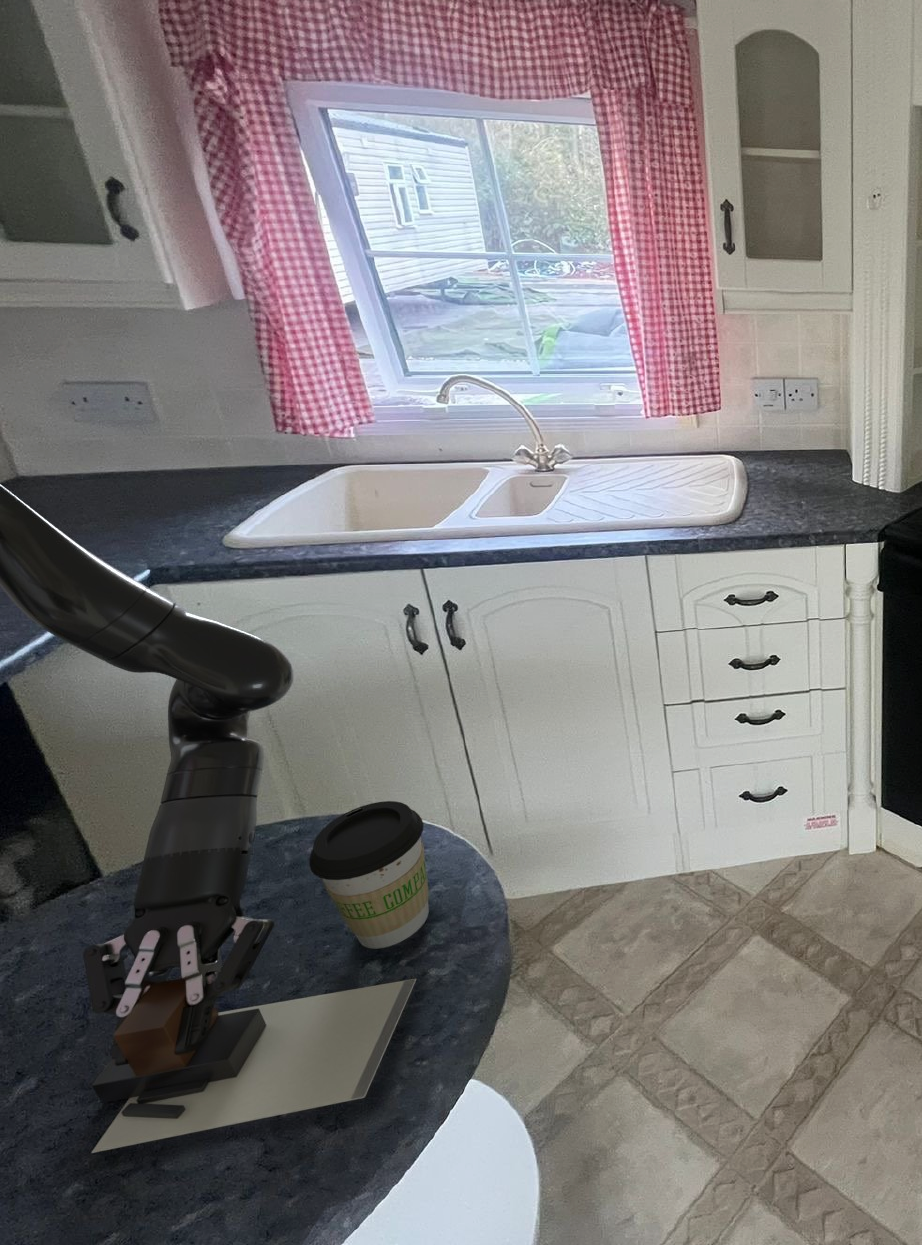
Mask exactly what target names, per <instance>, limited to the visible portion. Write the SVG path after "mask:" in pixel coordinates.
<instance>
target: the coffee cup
mask: <svg viewBox="0 0 922 1245" xmlns="http://www.w3.org/2000/svg"><path fill="white" fill-rule="evenodd" d="M423 832H424V821H423V819H422V817H421V815H420V814H418V812H416V811H415V810H413V809H412V808H411V807H410V806H408V805H407V804H405V803H404V802H400V801H394V800H384V801H377V802H372V803H368V804H365V805H361V806H359V807H356V808H353V809H351V810H348V811H346V812H345V813H343V814H341V815H339V816H338V817H337V818H335V819H333V820H332V821H331V822H329V823H328V824H327V825H326V826H324V827H323V828H322V829H321V830H320V831H319V833H318V834H317V835H316V837H315V839H314V840H313V845H312V848H311V852H310V854H309V869H310V871H311V873H312V874H313V875H314V876H316V877H318V878H319V879H322V881H323V884H324V889H325V890H326V892H327V893H328V895H329V897H330V898H331V900H332V902H333V904H334V905H335V906H336V908H337V910H338V912H339V913H340V915H341V917H342V918H343V920H344V922H345V923H346V925H347V927H348V928H349V930H350V931H351V932H352V934H354V936H356V938H357V940H358V942H359V943H360V944H361V946H363V947H365V948H367V949H375V950H376V949H384V948H389V947H391V946H394V945H397V944H399V943H401V942H403V941H404V940H406V939H408V938H410V937H412V935H414V934H415V933H416V932H418V930H419V929H420V928H422V926H423V925H424V924H425V922H426V920H427V919H428V917H429V912H430V910H429V908H430V907H429V885H428V883H429V882H428V877H427V876H428V874H427V864H426V856H425V847H424V844H423V840H422V838H421V837H422V835H423Z"/></svg>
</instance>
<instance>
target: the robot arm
mask: <svg viewBox="0 0 922 1245" xmlns="http://www.w3.org/2000/svg"><path fill="white" fill-rule="evenodd" d="M0 588H1V590H3V591H4V593H5V594H6V595H7V596H8V597H9V598H10V599H11V601H12V602H13V603H14V604H15V606H17V608H19V609H20V611H21V612H22V613H23V614H25V615H26V617H28V618H29V619H30V620H31V621H33V622H34V623H35V624H37V625H38V627H40V628H42V629H44V630H45V631H46V632H48V633H49V634H51V635H53V636H55V637H56V638H58V639H60V640H62V641H64V642H66V643H67V644H69V645H71V646H73V647H75V648H76V649H79V650H80V651H83V652H84V653H87V654H89V655H91V656H93V657H95V658H97V659H99V660H101V661H104V662H105V663H106V664H109V665H111V666H114V667H116V668H118V669H120V670H123V671H127V672H129V673H136V674H148V673H153V674H154V673H155V674H161V675H165V676H168V677H170V678H173V679H174V680H175V681H174V682H173V685H172V688H171V690H170V694H169V698H168V703H167V727H168V728H167V729H168V731H167V732H168V745H169V751H170V762H169V766H168V769H167V772H166V776H165V781H164V785H163V789H162V794H161V798H160V802H159V803H160V804H159V806H158V809H157V812H156V816H155V818H154V820H153V822H152V825H151V828H150V830H149V835H148V840H147V844H146V848H145V853H144V856H143V861H142V866H141V870H140V875H139V879H138V882H137V888H136V892H135V897H134V900H133V908H134V917H133V919H132V920H131V922H130V924H129V925H128V926H127V928H126V929H125V930H124V933H123V934H122V935H120V936H117V937H115V938H113V939H111V940H109V941H106V942H105V943H97V944H91V945H89V946H88V947H86V948H85V949H84V951H83V953H82V958H83V963H84V969H85V973H86V979H87V984H88V990H89V996H90V1001H91V1006H92V1011H93V1012H94V1013H95V1014H101V1013H102V1014H103V1013H104V1014H111V1015H114V1016H116V1018H117V1023H116V1028H115V1032H116V1031H117V1029H118V1028H119V1027H120V1025H121V1024H122V1023H123V1021H124V1020H125V1019H126V1017H127V1016H128V1015H129V1014H130V1012H131V1011H132V1010H133V1008H134V1007H135V1006H136V1004H137V1003H138V1002H139V1000H140V999H141V998H142V996H143V995H144V994H145V992H146V991H147V990H148V988H149V987H150V986H151V985H152V984H155V983H156V982H162V981H168V978H169V976H170V974H171V971H172V969H175V968H180V975H181V978H182V979H183V980H185V982H186V997H187V1003H188V1004H189V1005H188V1007H185V1008H183V1010H182V1016H181V1021H180V1026H179V1031H178V1036H177V1041H176V1046H175V1049H174V1053H175V1055H180V1054H185V1053H189V1052H192V1051H195V1050H197V1049H198V1048H199V1046H200V1044H201V1042H203V1041H205V1040H206V1038H207V1036H208V1034H209V1029H210V1024H211V1018H212V1013H213V1007H214V1006H215V1003H216V1001H217V999H219V997H222V995H224V994H227V993H229V992H231V991H232V990H233V991H234V990H236V989H239V988H241V987H242V986H243V985H244V983H245V981H246V979H247V977H248V976H249V974H250V972H251V970H252V968H253V966H254V965H255V962H256V960H257V959H258V957H259V955H260V953H261V951H262V950H263V948H264V946H265V944H266V942H267V940H268V938H269V936H270V934H271V932H272V930H273V928H274V926H275V921H274V920H273V919H271V918H267V919H266V918H262V919H257V918H253V917H248V916H244V911H243V909H242V906H241V898H242V896H243V894H244V892H245V888H246V882H247V876H248V872H249V871H248V870H249V865H250V860H251V854H252V850H253V849H252V848H253V843H254V841H255V838H256V833H255V832H256V826H257V820H258V818H257V814H258V812H257V810H258V809H257V807H258V797H259V792H260V788H261V781H262V775H263V771H264V764H265V763H264V761H265V748H264V747H263V745H262V744H261V743H260V742H259V741H257V740H254V739H252V738H250V737H249V735H250V732H249V730H250V729H249V728H250V726H249V725H250V724H249V723H250V720H249V719H250V714H251V713H252V712H256V711H259V710H263V709H265V708H268V707H270V706H272V705H274V704H275V703H277V702H279V701H281V699H283V698H284V697H285V696H287V694H288V693H289V691H290V690H291V688H292V686H293V684H294V680H295V672H294V668H293V665H292V663H291V661H290V660H289V658H288V657H287V656H286V655H285V653H284V652H282V651H281V650H280V648H278V647H276V646H275V645H274V644H272V643H270V642H269V641H267V640H265V639H263V638H261V637H259V636H257V635H254V634H251V633H249V632H247V631H243V630H241V629H238V628H236V627H233V626H230V625H228V624H225V623H223V622H220V621H216V620H214V619H210V618H207V617H205V616H204V617H203V616H200V615H198V614H195V613H192V612H190V611H189V610H187V609H185V608H184V607H182V606H180V605H179V604H178V603H177V602H174V601H173V600H171V599H170V598H167V597H166V596H164V595H162V594H160V593H159V592H158V591H155V590H154V589H152V588H150V587H148V586H146V585H144V584H143V583H141V582H140V581H137V579H134V578H132V577H130V576H129V575H127V574H126V573H124V572H122V571H121V570H119V569H118V568H116V567H114V566H112V565H110V564H109V563H107V562H106V561H104V560H103V559H102V558H100V557H98V556H96V555H95V554H93V553H92V552H91V551H90V550H87V549H86V548H84V547H83V546H82V545H81V544H79V543H77V542H76V541H75V540H73V538H71V537H69V535H67V534H66V533H64V532H63V531H62V530H60V529H59V528H57V527H56V526H55V525H54V524H52V523H51V522H50V521H48V520H47V519H46V518H44V517H43V516H42V515H41V514H40V513H38V512H37V511H36V510H34V509H33V508H32V507H30V505H28V504H27V503H26V502H24V501H23V500H22V499H20V498H19V497H18V496H17V495H15V494H14V493H12V491H10V490H9V489H7V488H6V487H5V486H3V485H2V484H1V483H0ZM233 933H234V935H233V937H232V940H233V943H234V945H233V946H232V948H231V950H230V952H229V954H228V955H227V958H226V959H225V961H224V963H223V954H222V946H223V945H224V943H226V942H227V940H228V939H229V938H230V937H231V935H232V934H233ZM128 950H129V951H130V952H131V954H132V955H133V957H134V958H135V959H134V962H133V963H132V966H131V968H130V971H129V973H128V975H127V971H126V966H125V960H126V959H127V957H128V956H129V952H128ZM110 1056H111V1058H112V1059H116V1060H115V1065H116V1066H120V1065H125V1064H129V1063H128V1062H127V1060H126V1058H125V1056H124V1055H123V1053H122V1051H121V1049H120V1048H119V1046H118V1044H117V1042H116V1041H115V1039H114V1038H113V1042H112V1046H111V1051H110Z"/></svg>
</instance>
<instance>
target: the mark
mask: <svg viewBox="0 0 922 1245" xmlns="http://www.w3.org/2000/svg"><path fill="white" fill-rule="evenodd" d="M207 1085H208V1081H207V1079H204V1080H199V1081H194V1082H189V1083H184V1084H179V1085H173V1086H168V1087H163V1088H158V1089H153V1090H148V1091H143V1092H142V1093H141V1094H140V1096H139V1097H138V1099H137V1100H136V1101H137V1103H141V1104H144V1103H149V1102H154V1101H159V1100H164V1099H169V1098H174V1097H179V1096H184V1095H189V1094H194V1093H199V1092H203V1091H204V1090H205V1088H206V1086H207Z"/></svg>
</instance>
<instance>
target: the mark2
mask: <svg viewBox="0 0 922 1245" xmlns="http://www.w3.org/2000/svg"><path fill="white" fill-rule="evenodd" d="M184 1111H185V1107H184V1105H164V1104H141V1103H130V1104H129V1105H128V1106H127V1107H126V1108H125V1109H124V1110H123V1111H122V1112H121V1113H122V1115H123V1116H126V1117H149V1118H172V1119H178V1118H179V1116H180V1115H181V1114H182V1113H183V1112H184Z"/></svg>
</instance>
